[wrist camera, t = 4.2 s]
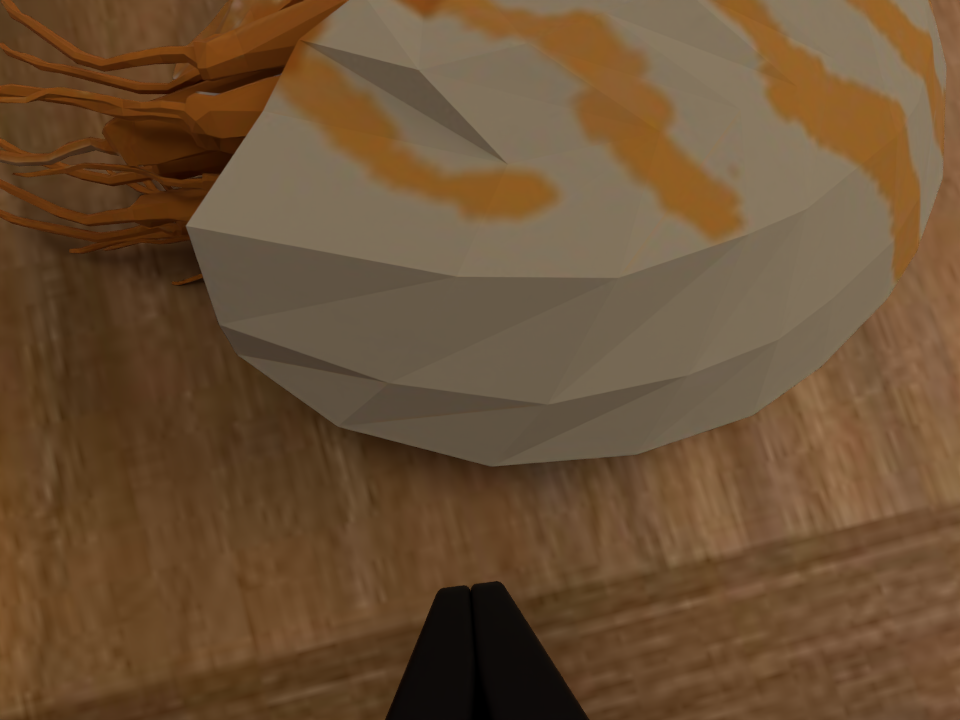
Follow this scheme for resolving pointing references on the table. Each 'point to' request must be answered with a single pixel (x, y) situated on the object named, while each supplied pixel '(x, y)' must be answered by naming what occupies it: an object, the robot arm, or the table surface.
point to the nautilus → (526, 202)
